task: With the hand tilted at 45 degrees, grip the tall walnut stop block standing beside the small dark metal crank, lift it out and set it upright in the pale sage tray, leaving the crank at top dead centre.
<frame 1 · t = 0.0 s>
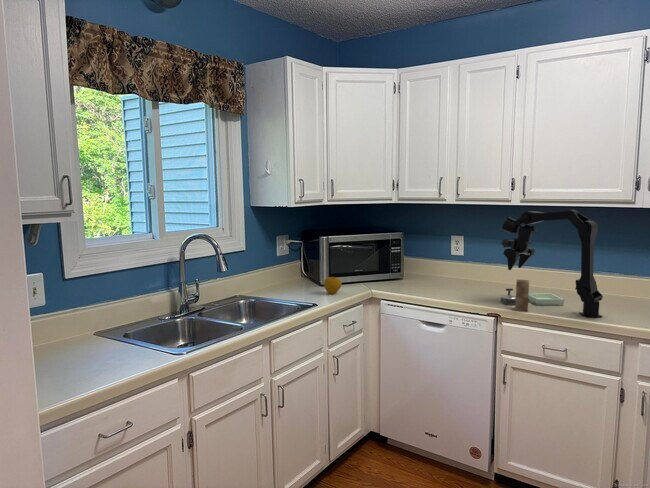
hand: (514, 268, 225), 15 cm above the worktop, fingers open, 9 cm apart
apple: (332, 294, 243), on the worktop
stop block: (521, 309, 210), on the worktop
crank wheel: (511, 294, 221), point 4 cm above the worktop, hinge at 0.0°
tray: (544, 302, 223), on the worktop
crank base: (510, 303, 222), on the worktop
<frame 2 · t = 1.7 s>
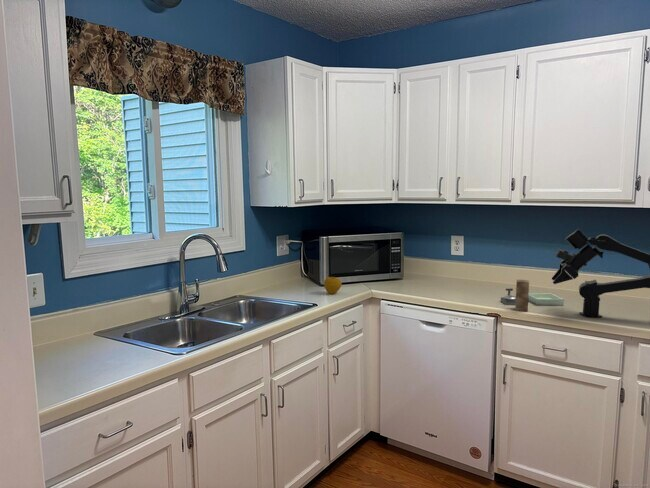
hand: (552, 281, 204), 14 cm above the worktop, fingers open, 9 cm apart
nothing on the worktop moved.
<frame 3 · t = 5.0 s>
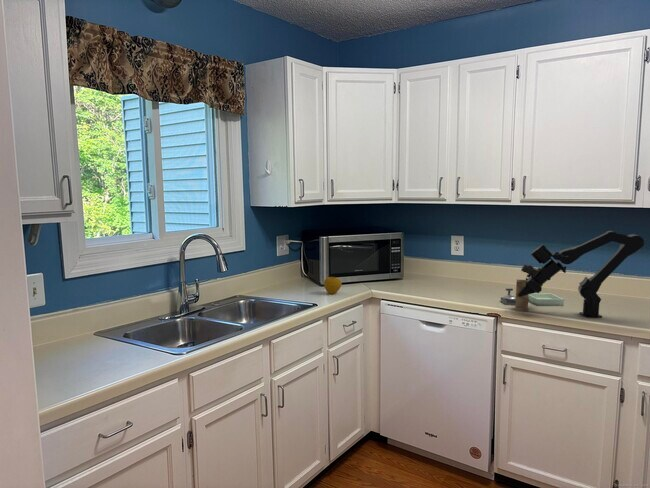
hand: (518, 294, 210), 7 cm above the worktop, fingers closed on stop block, 5 cm apart
stop block: (521, 309, 210), on the worktop, touching gripper
everything else where it was.
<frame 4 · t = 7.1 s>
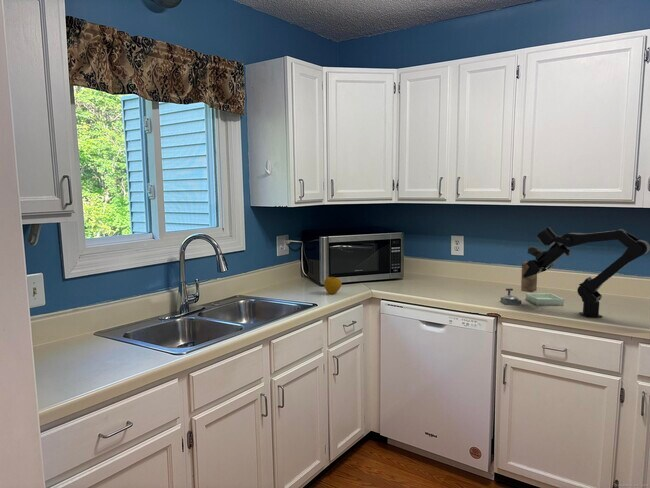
hand: (526, 276, 217), 13 cm above the worktop, fingers closed on stop block, 5 cm apart
stop block: (528, 290, 217), point 7 cm above the worktop, touching gripper
everything else where it was.
when the fingers open (9 cm above the worktop, at t = 9.4 s): stop block drops 1 cm, resting on tray.
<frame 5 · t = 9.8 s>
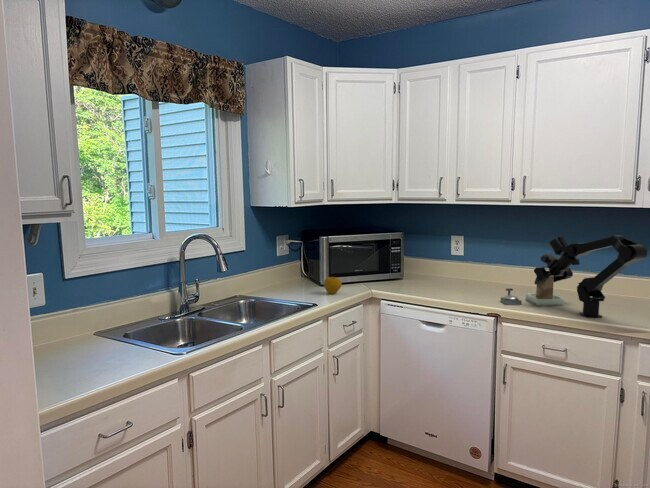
hand: (542, 283, 223), 9 cm above the worktop, fingers open, 9 cm apart
stop block: (544, 300, 223), point 1 cm above the worktop, touching tray
everything else where it was.
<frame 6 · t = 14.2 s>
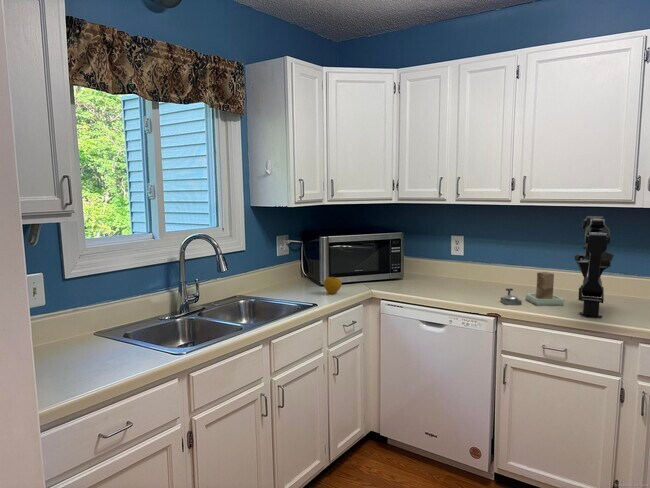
hand: (590, 279, 211), 13 cm above the worktop, fingers open, 9 cm apart
nothing on the worktop moved.
at the end: stop block inside the target area on the tray (0.0 cm from its centre), point 1.0 cm above the tray's base; stop block tilted 0°; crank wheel at +0° (first picture: +0°) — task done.
